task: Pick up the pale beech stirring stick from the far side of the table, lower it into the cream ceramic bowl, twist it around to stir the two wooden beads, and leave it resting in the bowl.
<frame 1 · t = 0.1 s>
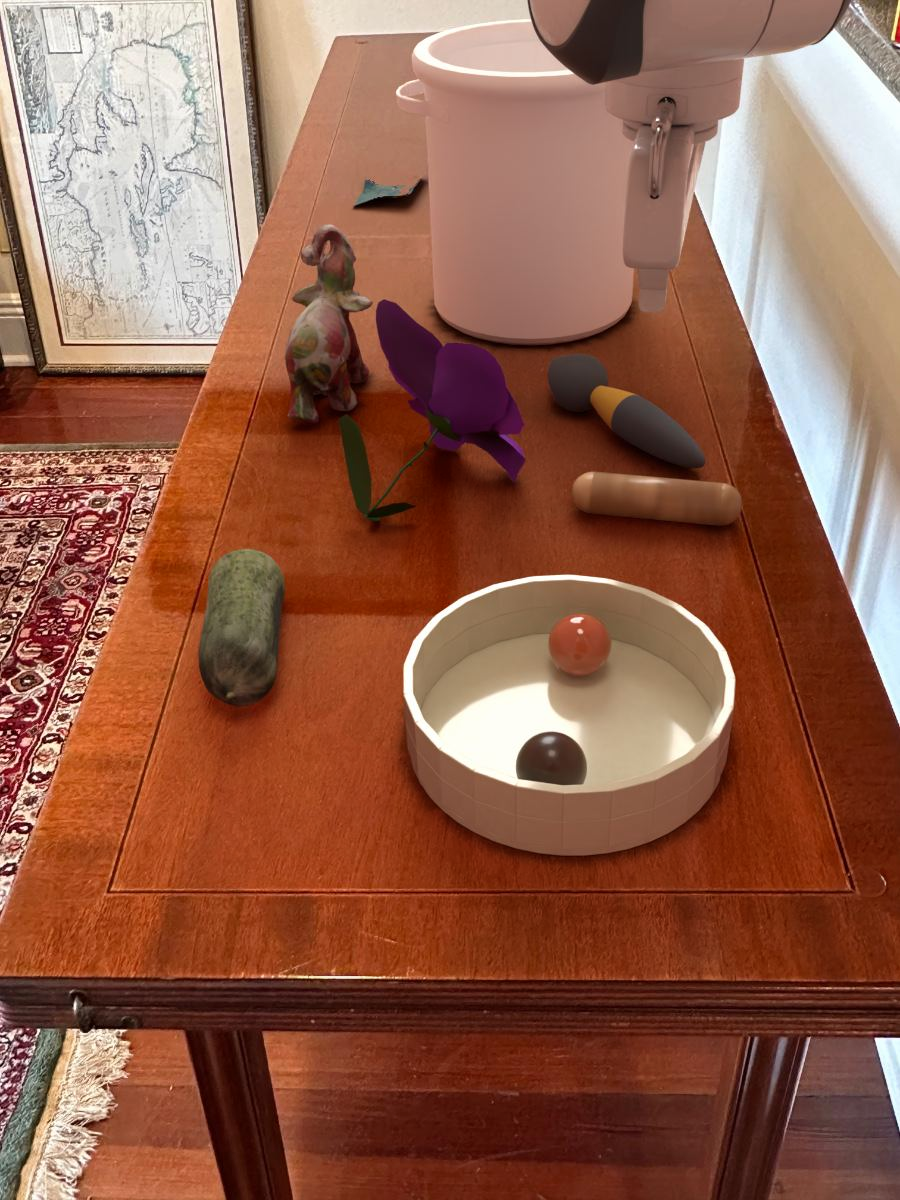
hand: (658, 282, 86), 16 cm above the table, tool pointing down, fingers open, 8 cm apart
vegetable: (247, 657, 80), on the table
bead terracotta: (579, 644, 75), point 3 cm above the table, touching bowl
figurine: (325, 401, 108), on the table
pot: (532, 308, 123), on the table
flower: (426, 496, 95), on the table
bead walnut: (551, 767, 67), point 3 cm above the table, touching bowl
stick: (654, 516, 91), on the table
paintbrush: (621, 431, 102), on the table
bowl: (565, 733, 73), on the table
terrain model: (392, 193, 153), on the table
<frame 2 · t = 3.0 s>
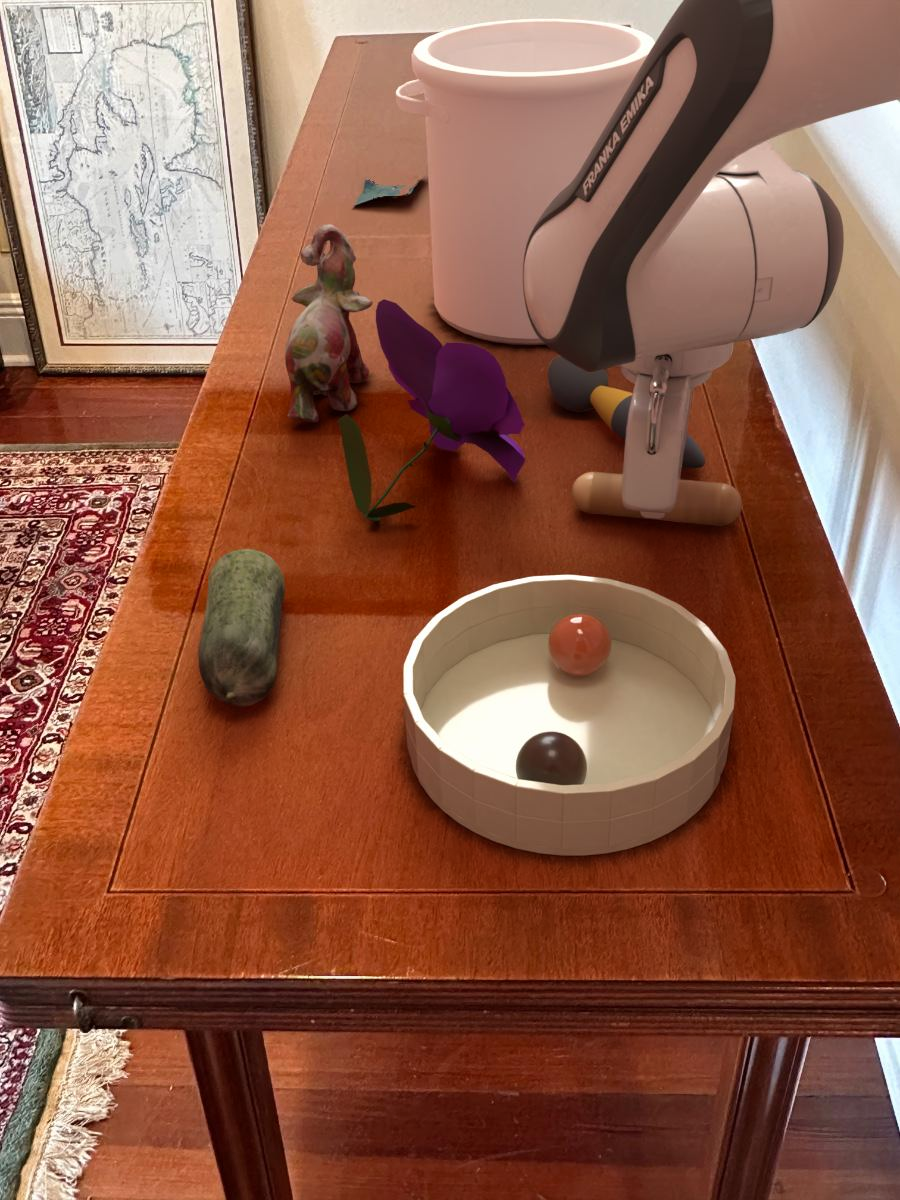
hand: (656, 497, 90), 2 cm above the table, tool pointing down, fingers closed on stick, 3 cm apart
stick: (654, 516, 91), on the table, touching gripper
everything else where it was.
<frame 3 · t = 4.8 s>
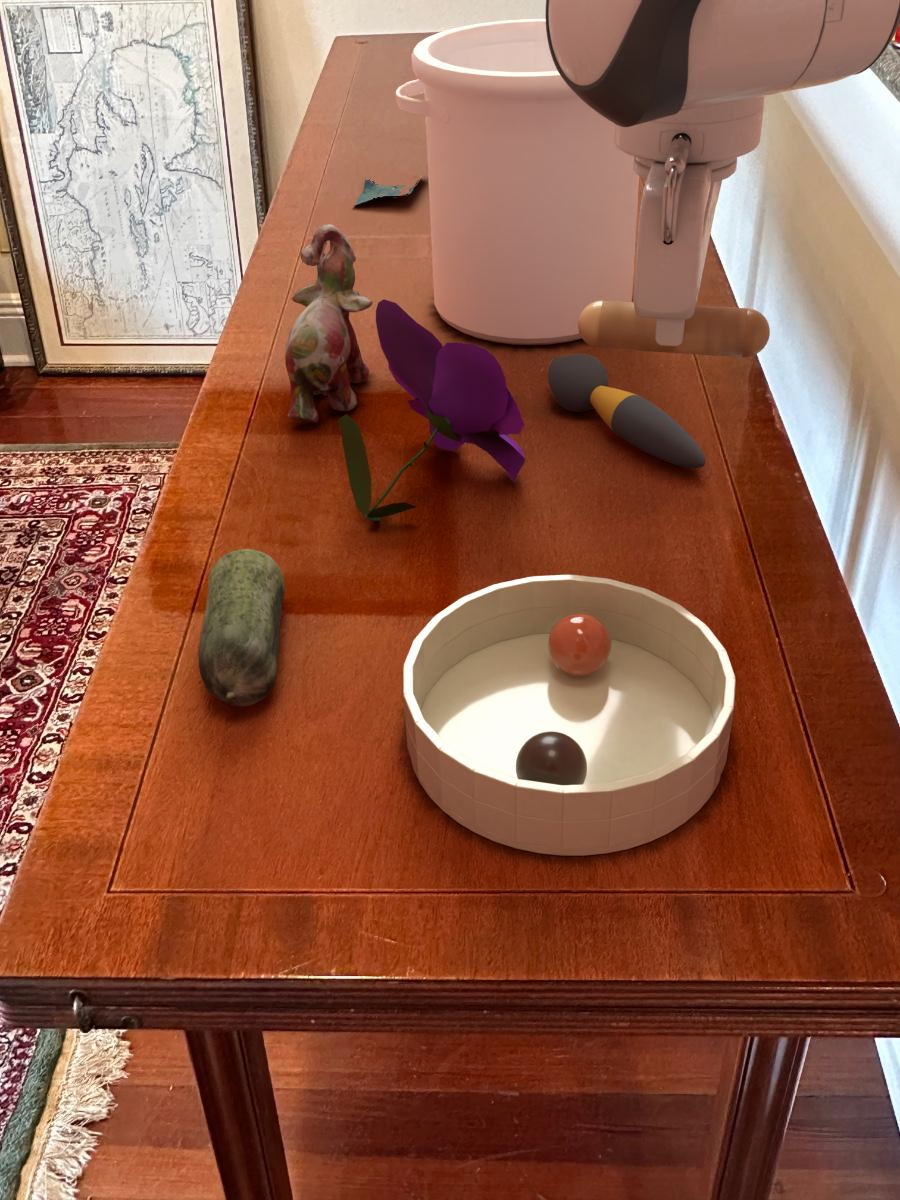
hand: (672, 326, 81), 16 cm above the table, tool pointing down, fingers closed on stick, 3 cm apart
stick: (670, 350, 82), point 14 cm above the table, touching gripper
everything else where it was.
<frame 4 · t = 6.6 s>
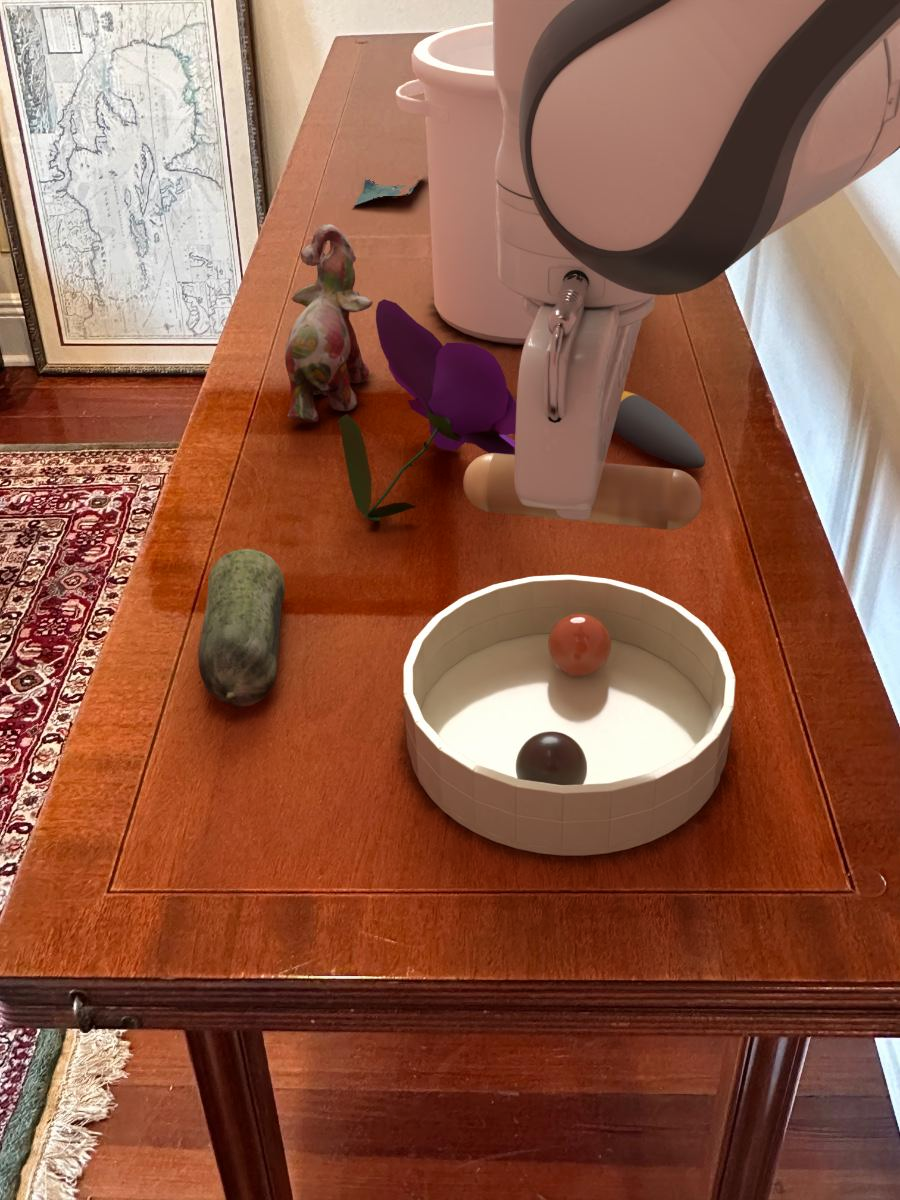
hand: (581, 489, 64), 17 cm above the table, tool pointing down, fingers closed on stick, 3 cm apart
stick: (579, 515, 65), point 15 cm above the table, touching gripper
everything else where it was.
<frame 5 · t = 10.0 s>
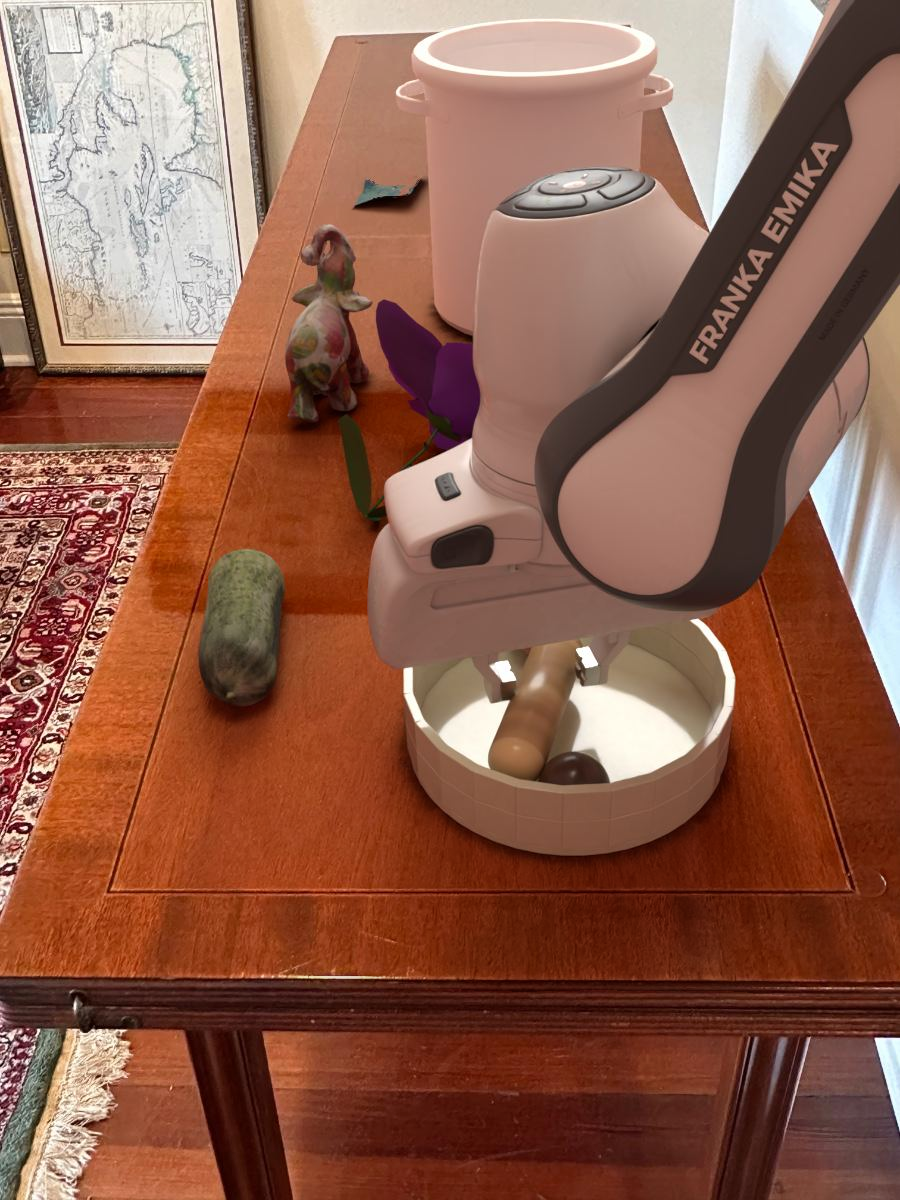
hand: (544, 686, 70), 4 cm above the table, tool pointing down, fingers closed on stick, 4 cm apart
bead terracotta: (541, 626, 77), point 3 cm above the table, tilted 66°, touching bowl, stick
bead walnut: (573, 788, 65), point 3 cm above the table, tilted 60°, touching bowl, stick
stick: (532, 722, 71), point 2 cm above the table, tilted 12°, touching bead terracotta, bead walnut, gripper
everything else where it was.
when the fingers open (3 cm above the table, at t = 10.7 s): stick stays where it is, resting on bowl.
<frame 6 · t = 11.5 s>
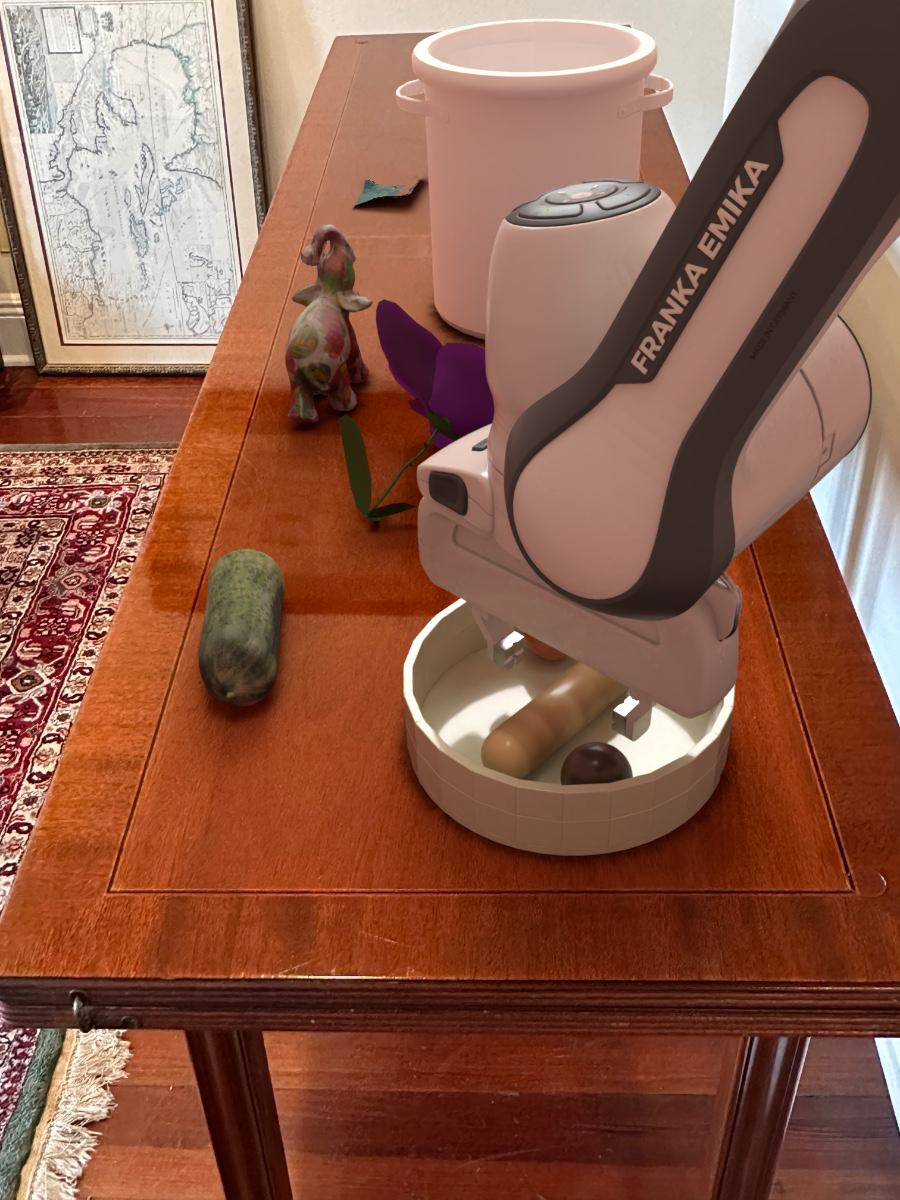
hand: (566, 694, 71), 3 cm above the table, tool pointing down, fingers open, 8 cm apart
bead terracotta: (553, 629, 77), point 3 cm above the table, tilted 57°, touching bowl
bead walnut: (596, 778, 66), point 3 cm above the table, tilted 65°, touching bowl
stick: (552, 724, 72), point 1 cm above the table, tilted 24°, touching bowl
everything else where it was.
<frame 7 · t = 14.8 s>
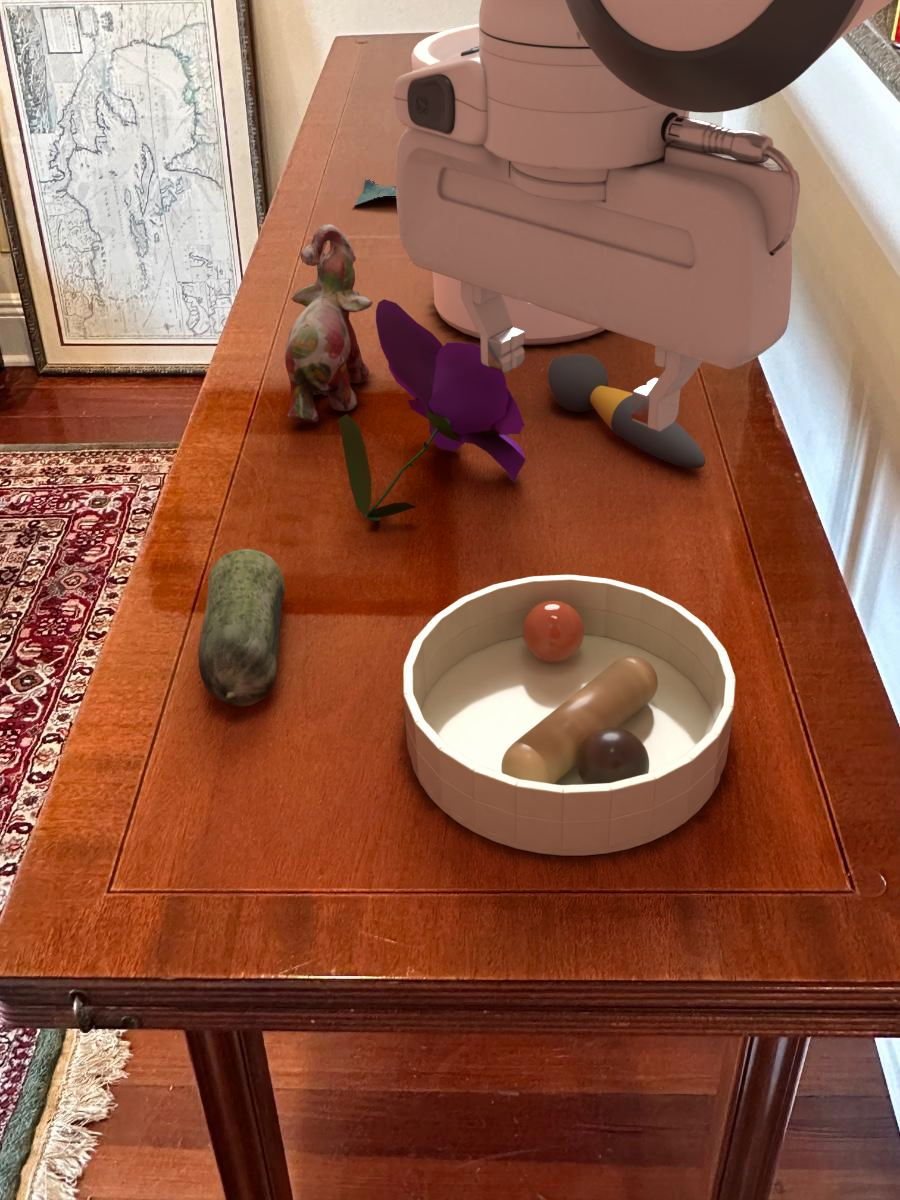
hand: (575, 392, 59), 23 cm above the table, tool pointing down, fingers open, 8 cm apart
bead walnut: (613, 763, 67), point 3 cm above the table, tilted 81°, touching bowl
stick: (561, 714, 71), point 2 cm above the table, tilted 80°, touching bowl
everything else where it was.
at the end: stick inside the target area in the bowl (0.4 cm from its centre), point 1.9 cm above the bowl's base; bead walnut moved 3.5 cm from its start; bead walnut inside the target area in the bowl (5.7 cm from its centre), point 2.6 cm above the bowl's base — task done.
